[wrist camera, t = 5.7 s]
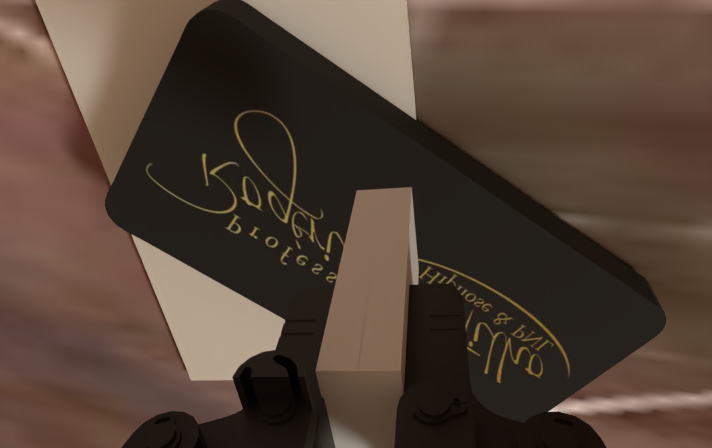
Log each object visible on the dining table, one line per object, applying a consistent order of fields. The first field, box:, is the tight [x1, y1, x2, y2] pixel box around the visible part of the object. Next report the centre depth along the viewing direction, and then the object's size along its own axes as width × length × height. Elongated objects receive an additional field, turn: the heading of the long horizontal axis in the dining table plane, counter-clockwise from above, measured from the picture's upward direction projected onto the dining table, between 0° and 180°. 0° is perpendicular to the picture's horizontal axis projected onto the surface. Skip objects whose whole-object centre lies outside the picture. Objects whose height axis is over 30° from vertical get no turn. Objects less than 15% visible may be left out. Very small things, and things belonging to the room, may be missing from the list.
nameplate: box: [105, 0, 666, 423], centre depth 23 cm, size 21×2×10 cm
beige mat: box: [35, 0, 416, 380], centre depth 22 cm, size 13×26×1 cm, turn 8°
